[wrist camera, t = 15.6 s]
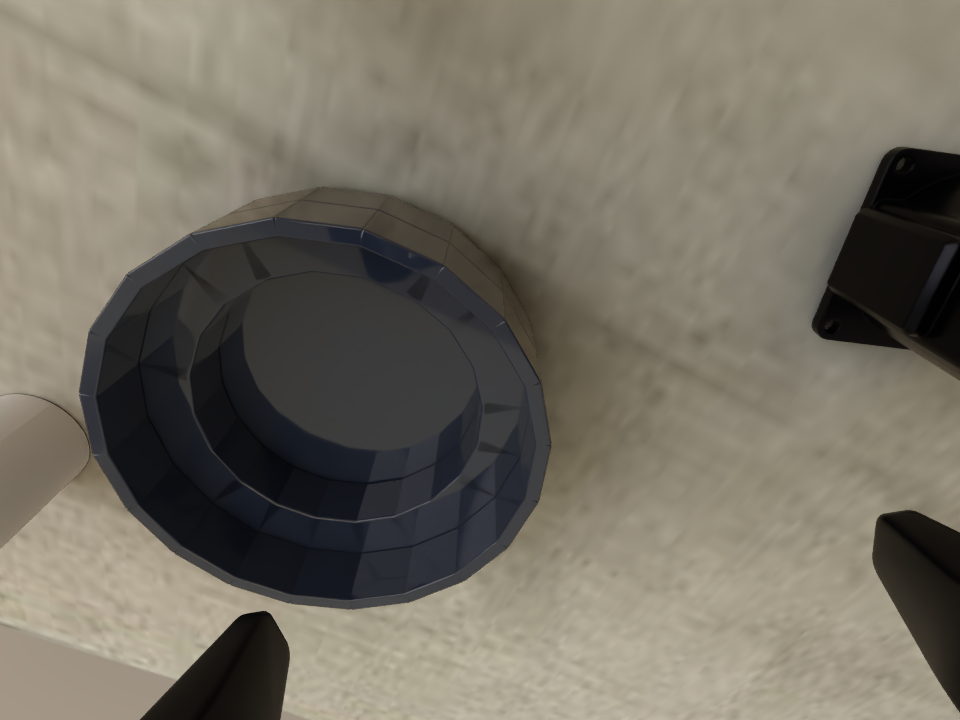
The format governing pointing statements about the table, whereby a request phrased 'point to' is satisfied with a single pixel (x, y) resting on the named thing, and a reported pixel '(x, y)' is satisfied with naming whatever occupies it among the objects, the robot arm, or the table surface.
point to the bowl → (321, 400)
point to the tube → (35, 458)
